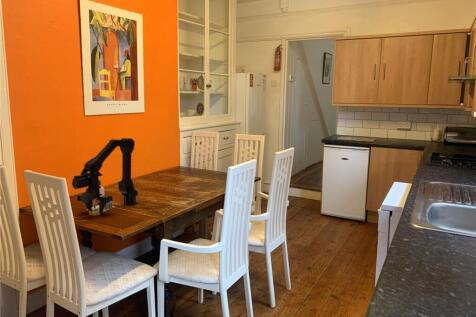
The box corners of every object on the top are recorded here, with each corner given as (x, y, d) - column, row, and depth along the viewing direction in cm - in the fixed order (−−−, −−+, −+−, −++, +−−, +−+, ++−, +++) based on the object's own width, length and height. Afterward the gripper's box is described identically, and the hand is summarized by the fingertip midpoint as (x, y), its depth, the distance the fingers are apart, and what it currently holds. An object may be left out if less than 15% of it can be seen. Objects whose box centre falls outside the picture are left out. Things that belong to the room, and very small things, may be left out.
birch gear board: (115, 208, 208) (115, 199, 208) (104, 213, 199) (103, 204, 198) (98, 206, 212) (97, 198, 211) (86, 211, 203) (85, 202, 202)
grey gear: (114, 206, 209) (114, 201, 208) (109, 209, 202) (108, 204, 202) (104, 205, 210) (103, 200, 209) (98, 209, 203) (98, 204, 203)
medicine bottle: (99, 196, 235) (97, 178, 233) (105, 198, 231) (103, 179, 229) (88, 199, 230) (87, 180, 228) (94, 200, 225) (92, 181, 223)
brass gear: (104, 214, 197) (104, 208, 197) (97, 217, 191) (96, 212, 191) (95, 213, 199) (94, 208, 199) (87, 216, 193) (86, 211, 193)
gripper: (67, 187, 188) (70, 216, 190) (98, 190, 182) (100, 219, 185) (83, 183, 198) (85, 210, 201) (112, 185, 193) (114, 213, 195)
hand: (95, 213), depth 195 cm, fingers closed on brass gear, 6 cm apart
